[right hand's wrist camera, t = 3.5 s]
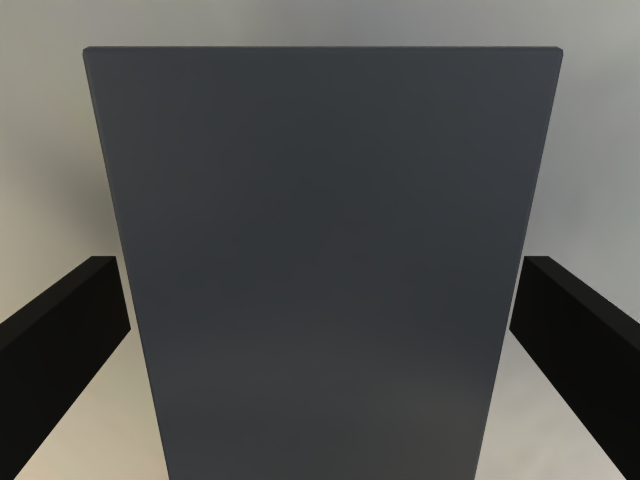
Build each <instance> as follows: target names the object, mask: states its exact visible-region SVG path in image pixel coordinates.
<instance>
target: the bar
mask: <svg viewBox="0 0 640 480" xmlns="http://www.w3.org/2000/svg"><path fill="white" fill-rule="evenodd" d="M562 58H563V50H562V49H560V48H558V47H205V46H89V47H87V48H85V49H83V59H84V64H85V69H86V74H87V79H88V84H89V89H90V94H91V99H92V103H93V108H94V113H95V118H96V123H97V128H98V133H99V138H100V143H101V147H102V152H103V157H104V162H105V167H106V172H107V177H108V182H109V187H110V191H111V196H112V201H113V206H114V211H115V216H116V221H117V226H118V231H119V235H120V240H121V245H122V250H123V255H124V260H125V265H126V270H127V275H128V279H129V284H130V289H131V294H132V299H133V304H134V309H135V314H136V319H137V323H138V328H139V333H140V338H141V343H142V348H143V353H144V358H145V363H146V368H147V372H148V377H149V382H150V387H151V392H152V397H153V402H154V407H155V412H156V416H157V421H158V426H159V431H160V436H161V441H162V446H163V451H164V456H165V460H166V465H167V470H168V475H169V480H474V478H475V474H476V469H477V464H478V459H479V455H480V450H481V445H482V440H483V435H484V431H485V426H486V421H487V416H488V412H489V407H490V402H491V397H492V392H493V388H494V383H495V378H496V373H497V369H498V364H499V359H500V354H501V349H502V345H503V340H504V335H505V330H506V326H507V321H508V316H509V311H510V306H511V302H512V297H513V292H514V287H515V283H516V278H517V273H518V268H519V263H520V259H521V254H522V249H523V244H524V240H525V235H526V230H527V225H528V220H529V216H530V211H531V206H532V201H533V197H534V192H535V187H536V182H537V177H538V173H539V168H540V163H541V158H542V154H543V149H544V144H545V139H546V134H547V130H548V125H549V120H550V115H551V111H552V106H553V101H554V96H555V91H556V87H557V82H558V77H559V72H560V68H561V63H562Z"/></svg>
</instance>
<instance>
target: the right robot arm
mask: <svg viewBox="0 0 640 480" xmlns="http://www.w3.org/2000/svg"><path fill="white" fill-rule="evenodd" d="M130 330H131V327H130V322H129V318H128V313H127V308H126V303H125V298H124V294H123V289H122V284H121V279H120V275H119V270H118V265H117V260H116V256H91V257H90V258H88V259H87V260H86V261H84V262H83V263H82V264H80V265H79V266H78V267H76V268H75V269H74V270H72V271H71V272H70V273H68V274H67V275H66V276H64V277H63V278H62V279H60V280H59V281H57V282H56V283H55V284H53V285H52V286H51V287H49V288H48V289H47V290H45V291H44V292H43V293H41V294H40V295H39V296H37V297H36V298H35V299H33V300H32V301H31V302H29V303H28V304H27V305H25V306H24V307H22V308H21V309H20V310H18V311H17V312H16V313H14V314H13V315H12V316H10V317H9V318H8V319H6V320H5V321H4V322H2V323H1V324H0V480H14V479H15V477H16V476H17V475H18V473H19V472H20V471H21V470H22V468H23V467H24V466H25V464H26V463H27V462H28V461H29V459H30V458H31V457H32V455H33V454H34V453H35V452H36V450H37V449H38V448H39V446H40V445H41V444H42V443H43V441H44V440H45V439H46V437H47V436H48V435H49V434H50V432H51V431H52V430H53V428H54V427H55V426H56V425H57V423H58V422H59V421H60V420H61V418H62V417H63V416H64V414H65V413H66V412H67V411H68V409H69V408H70V407H71V405H72V404H73V403H74V402H75V400H76V399H77V398H78V396H79V395H80V394H81V393H82V391H83V390H84V389H85V387H86V386H87V385H88V384H89V382H90V381H91V380H92V378H93V377H94V376H95V375H96V373H97V372H98V371H99V369H100V368H101V367H102V366H103V364H104V363H105V362H106V360H107V359H108V358H109V357H110V355H111V354H112V353H113V352H114V350H115V349H116V348H117V346H118V345H119V344H120V343H121V341H122V340H123V339H124V337H125V336H126V335H127V334H128V332H129V331H130ZM509 330H510V331H511V332H512V334H513V335H514V336H515V337H516V339H517V340H518V341H519V343H520V344H521V345H522V346H523V348H524V349H525V350H526V351H527V353H528V354H529V355H530V357H531V358H532V359H533V360H534V362H535V363H536V364H537V366H538V367H539V368H540V369H541V371H542V372H543V373H544V375H545V376H546V377H547V378H548V380H549V381H550V382H551V384H552V385H553V386H554V387H555V389H556V390H557V391H558V393H559V394H560V395H561V396H562V398H563V399H564V400H565V402H566V403H567V404H568V405H569V407H570V408H571V409H572V411H573V412H574V413H575V414H576V416H577V417H578V418H579V419H580V421H581V422H582V423H583V425H584V426H585V427H586V428H587V430H588V431H589V432H590V434H591V435H592V436H593V437H594V439H595V440H596V441H597V443H598V444H599V445H600V446H601V448H602V449H603V450H604V452H605V453H606V454H607V455H608V457H609V458H610V459H611V461H612V462H613V463H614V464H615V466H616V467H617V468H618V470H619V471H620V472H621V473H622V475H623V476H624V477H625V479H626V480H640V324H639V323H638V322H636V321H635V320H634V319H632V318H631V317H630V316H628V315H627V314H626V313H624V312H623V311H622V310H620V309H619V308H618V307H616V306H615V305H614V304H612V303H611V302H609V301H608V300H607V299H605V298H604V297H603V296H601V295H600V294H599V293H597V292H596V291H595V290H593V289H592V288H591V287H589V286H588V285H587V284H585V283H584V282H583V281H581V280H580V279H578V278H577V277H576V276H574V275H573V274H572V273H570V272H569V271H568V270H566V269H565V268H564V267H562V266H561V265H560V264H558V263H557V262H556V261H554V260H553V259H552V258H550V257H549V256H524V260H523V265H522V270H521V275H520V279H519V284H518V289H517V294H516V299H515V303H514V308H513V313H512V318H511V322H510V327H509Z"/></svg>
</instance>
